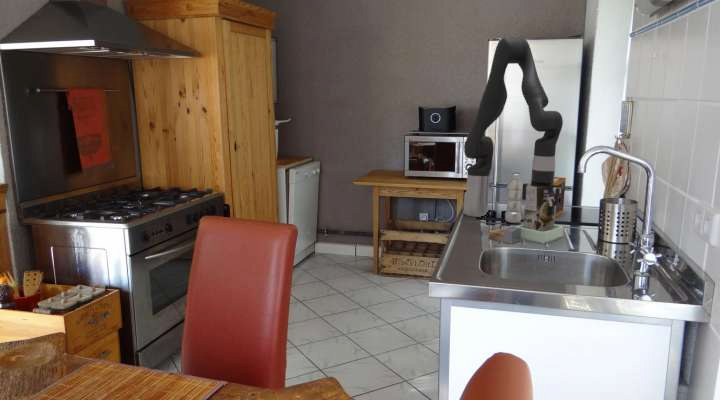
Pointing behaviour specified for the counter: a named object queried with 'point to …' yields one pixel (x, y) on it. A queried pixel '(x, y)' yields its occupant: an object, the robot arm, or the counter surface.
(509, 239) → the block
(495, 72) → the robot arm
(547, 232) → the green tray
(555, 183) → the supplement box
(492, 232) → the brown square block
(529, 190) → the coffee box
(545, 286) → the counter surface
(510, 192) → the plastic bottle
